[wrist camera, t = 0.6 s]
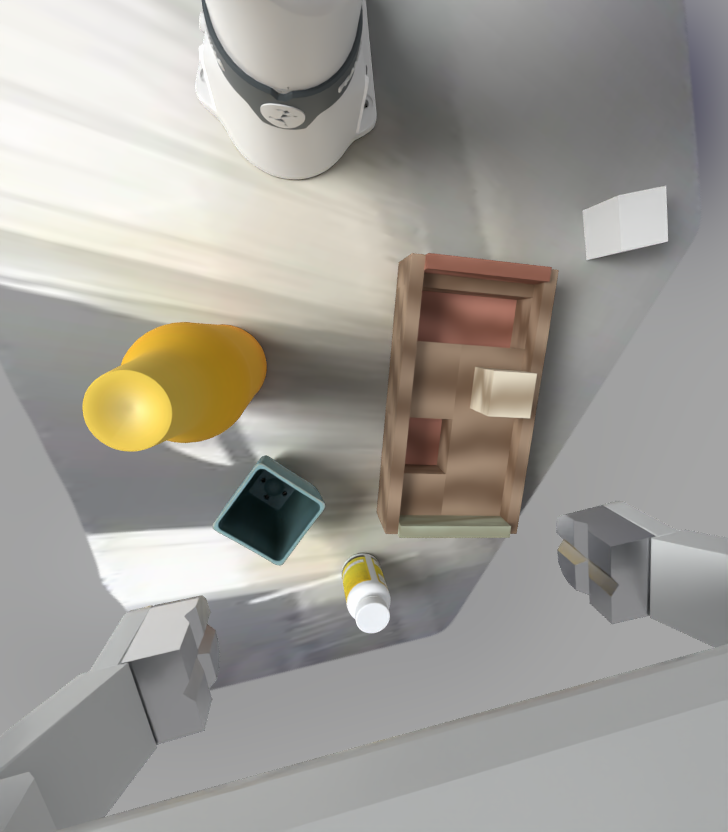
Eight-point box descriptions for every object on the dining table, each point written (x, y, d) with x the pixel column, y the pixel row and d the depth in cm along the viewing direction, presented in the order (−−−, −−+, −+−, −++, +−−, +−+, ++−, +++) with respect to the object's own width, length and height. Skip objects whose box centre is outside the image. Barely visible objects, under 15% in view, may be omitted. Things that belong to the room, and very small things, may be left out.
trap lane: (398, 262, 49) (414, 251, 42) (529, 276, 52) (564, 268, 45) (376, 512, 55) (387, 537, 48) (494, 513, 58) (520, 537, 51)
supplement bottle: (335, 582, 56) (342, 633, 47) (349, 547, 56) (359, 592, 46) (371, 591, 57) (386, 642, 48) (385, 557, 57) (403, 602, 47)
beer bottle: (283, 361, 49) (262, 402, 21) (233, 418, 50) (147, 532, 22) (221, 307, 47) (105, 273, 19) (169, 368, 48) (-20, 421, 19)
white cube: (585, 260, 53) (621, 251, 47) (581, 210, 51) (617, 195, 45) (628, 251, 53) (668, 241, 47) (625, 201, 52) (666, 185, 46)
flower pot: (323, 476, 53) (328, 505, 44) (283, 530, 54) (280, 568, 45) (265, 439, 51) (259, 461, 42) (225, 494, 52) (210, 528, 43)
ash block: (475, 366, 49) (494, 370, 44) (513, 369, 50) (536, 373, 45) (469, 408, 50) (488, 416, 45) (508, 410, 51) (529, 418, 46)
